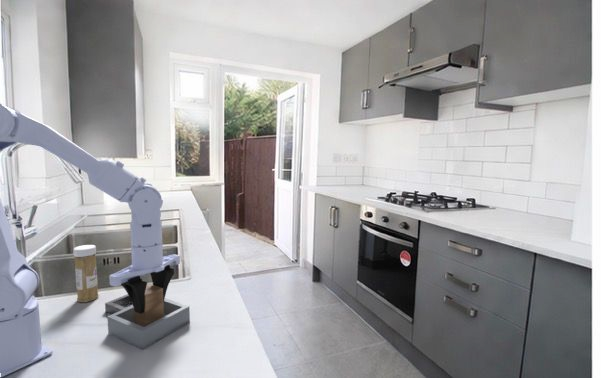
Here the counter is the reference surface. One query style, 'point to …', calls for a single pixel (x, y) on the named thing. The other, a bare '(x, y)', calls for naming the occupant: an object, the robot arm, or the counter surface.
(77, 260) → the sprinkles bottle
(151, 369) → the counter surface
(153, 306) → the brown wooden block
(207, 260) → the counter surface
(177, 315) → the tray
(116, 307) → the socket collar
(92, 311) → the counter surface
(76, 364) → the counter surface
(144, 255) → the robot arm
